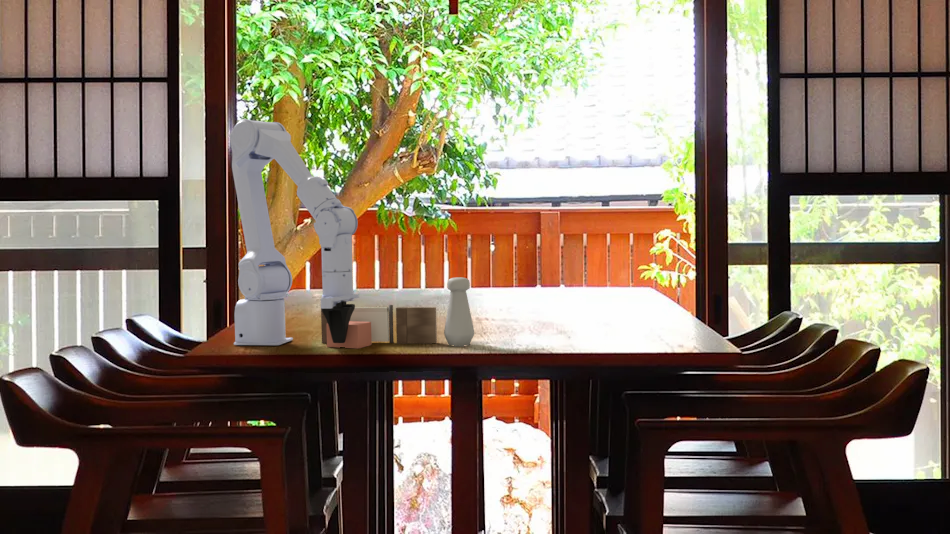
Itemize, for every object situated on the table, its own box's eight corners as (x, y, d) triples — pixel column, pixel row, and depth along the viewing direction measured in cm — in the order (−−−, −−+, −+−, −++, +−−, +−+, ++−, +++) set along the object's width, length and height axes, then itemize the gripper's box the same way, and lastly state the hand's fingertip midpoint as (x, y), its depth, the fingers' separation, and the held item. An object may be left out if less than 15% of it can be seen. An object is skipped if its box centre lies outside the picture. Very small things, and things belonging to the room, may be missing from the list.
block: (326, 346, 181) (326, 323, 181) (341, 343, 185) (340, 320, 185) (358, 348, 178) (357, 325, 178) (371, 344, 183) (371, 321, 182)
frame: (321, 342, 186) (320, 305, 186) (325, 341, 188) (324, 304, 188) (435, 343, 182) (434, 305, 182) (437, 342, 184) (436, 304, 184)
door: (334, 341, 186) (333, 307, 186) (335, 340, 187) (335, 307, 187) (387, 341, 184) (387, 307, 184) (389, 340, 186) (388, 307, 185)
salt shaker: (470, 347, 177) (469, 278, 176) (441, 346, 178) (440, 278, 178) (477, 342, 183) (476, 276, 182) (448, 342, 184) (447, 276, 183)
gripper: (346, 273, 169) (348, 348, 170) (368, 268, 183) (370, 337, 184) (308, 274, 170) (310, 348, 171) (333, 268, 184) (335, 337, 185)
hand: (339, 342), depth 178 cm, fingers closed
